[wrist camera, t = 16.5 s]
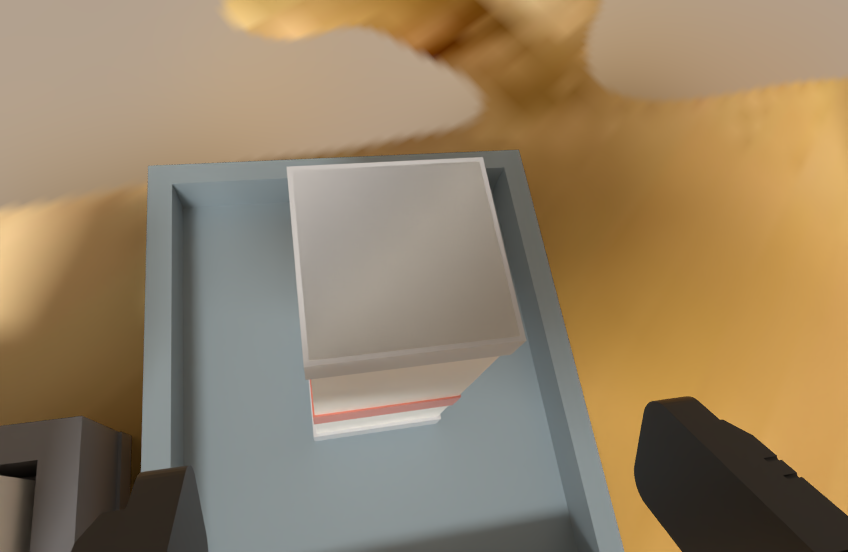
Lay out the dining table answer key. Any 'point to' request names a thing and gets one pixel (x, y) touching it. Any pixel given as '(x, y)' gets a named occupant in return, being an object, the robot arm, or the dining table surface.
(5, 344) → the dining table surface
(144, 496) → the robot arm
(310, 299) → the block
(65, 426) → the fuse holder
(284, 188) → the tray
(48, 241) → the dining table surface
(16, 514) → the block
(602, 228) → the dining table surface
